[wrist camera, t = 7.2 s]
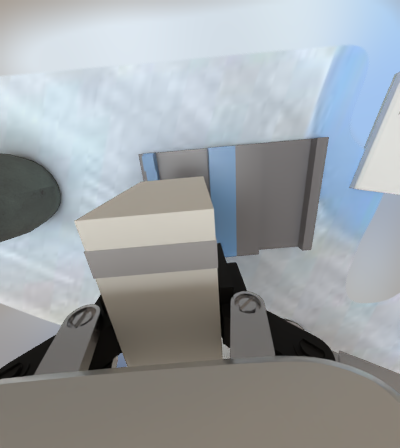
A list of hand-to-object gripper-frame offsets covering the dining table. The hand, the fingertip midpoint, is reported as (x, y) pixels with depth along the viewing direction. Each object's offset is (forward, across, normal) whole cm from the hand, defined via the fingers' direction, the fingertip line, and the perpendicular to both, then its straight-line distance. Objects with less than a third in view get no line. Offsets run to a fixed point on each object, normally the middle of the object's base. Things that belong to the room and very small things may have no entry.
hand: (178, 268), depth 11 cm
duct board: (+14, -6, 0) cm, 15 cm away
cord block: (+3, 0, 0) cm, 3 cm away
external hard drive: (+15, -27, -6) cm, 31 cm away
